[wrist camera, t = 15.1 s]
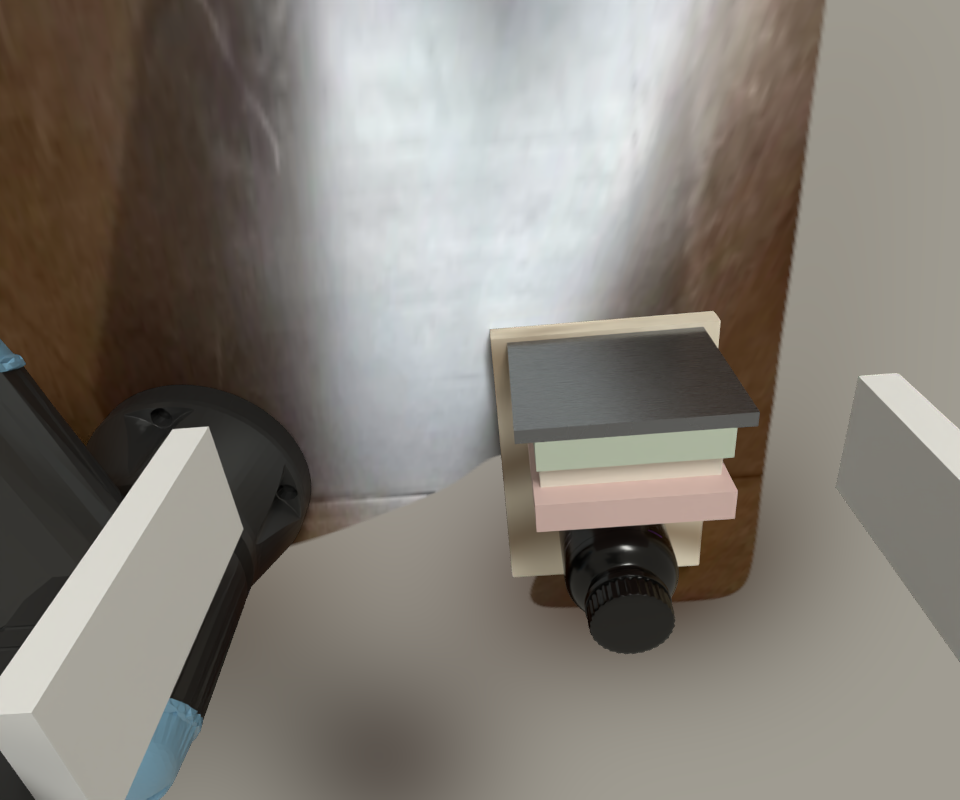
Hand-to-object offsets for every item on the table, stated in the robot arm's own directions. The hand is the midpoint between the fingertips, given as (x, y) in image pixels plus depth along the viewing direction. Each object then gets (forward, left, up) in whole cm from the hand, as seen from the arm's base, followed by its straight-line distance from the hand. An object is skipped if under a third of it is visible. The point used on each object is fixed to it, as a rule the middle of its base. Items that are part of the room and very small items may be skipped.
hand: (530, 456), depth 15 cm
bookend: (-4, -12, -27) cm, 30 cm away
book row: (-6, -14, -27) cm, 31 cm away
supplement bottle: (-12, -20, -27) cm, 36 cm away
